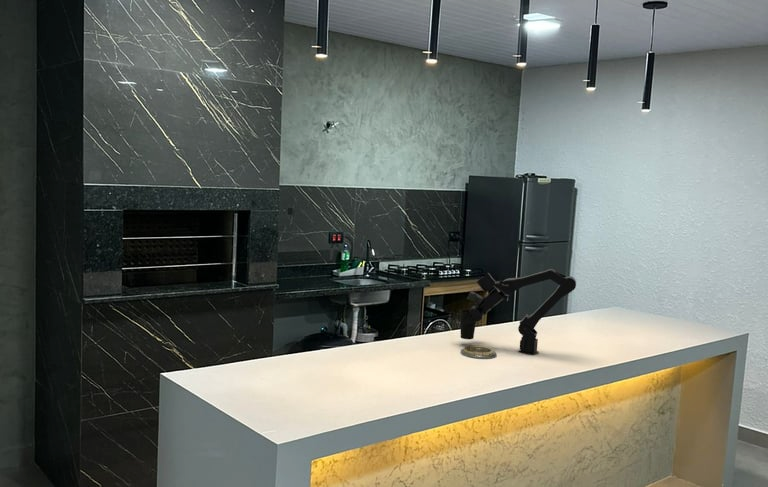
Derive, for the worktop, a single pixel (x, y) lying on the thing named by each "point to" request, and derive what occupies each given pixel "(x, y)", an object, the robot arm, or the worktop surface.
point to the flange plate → (478, 352)
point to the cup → (468, 329)
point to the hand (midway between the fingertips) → (464, 322)
